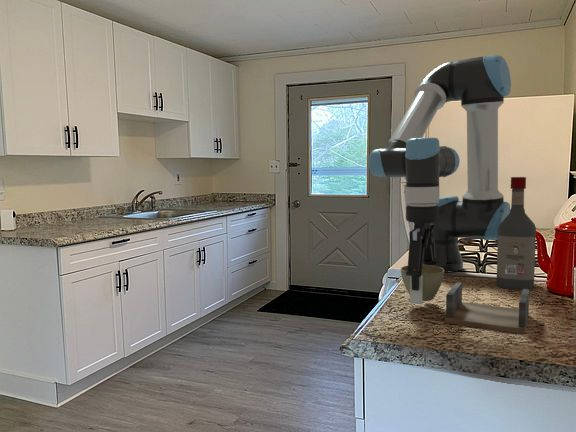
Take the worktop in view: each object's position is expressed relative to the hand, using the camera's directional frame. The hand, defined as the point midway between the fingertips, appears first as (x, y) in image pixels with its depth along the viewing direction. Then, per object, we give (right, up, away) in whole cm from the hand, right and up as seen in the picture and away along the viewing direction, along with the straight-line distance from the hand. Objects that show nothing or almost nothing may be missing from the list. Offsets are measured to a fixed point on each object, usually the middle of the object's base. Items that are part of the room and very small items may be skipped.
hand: (422, 297), depth 114 cm
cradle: (+12, -3, -9) cm, 15 cm away
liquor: (+31, 0, +18) cm, 36 cm away
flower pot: (0, 0, 0) cm, 0 cm away
